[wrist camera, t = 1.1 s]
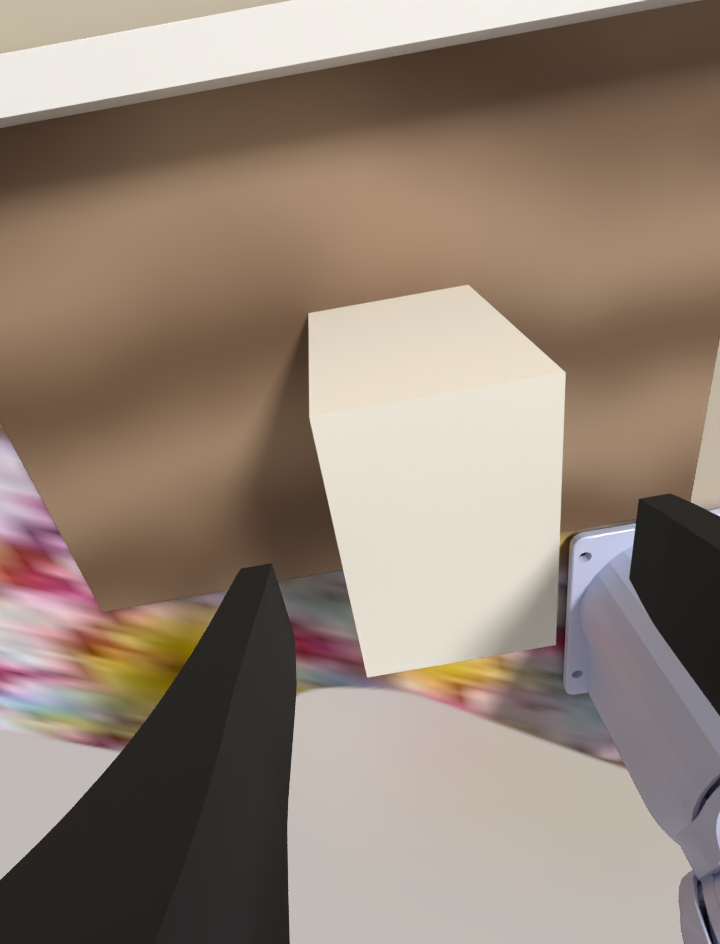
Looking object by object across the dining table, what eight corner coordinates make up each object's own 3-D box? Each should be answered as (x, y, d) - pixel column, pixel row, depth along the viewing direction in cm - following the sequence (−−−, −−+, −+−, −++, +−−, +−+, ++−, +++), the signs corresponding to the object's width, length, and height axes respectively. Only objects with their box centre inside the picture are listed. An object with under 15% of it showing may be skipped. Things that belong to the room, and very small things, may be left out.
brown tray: (671, 492, 22) (723, 543, 19) (112, 589, 22) (84, 654, 19) (756, -57, 14) (870, -107, 11) (-136, 106, 14) (-245, 98, 11)
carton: (348, 512, 20) (367, 677, 14) (308, 313, 16) (309, 417, 10) (482, 489, 20) (560, 644, 14) (471, 284, 16) (571, 371, 10)
